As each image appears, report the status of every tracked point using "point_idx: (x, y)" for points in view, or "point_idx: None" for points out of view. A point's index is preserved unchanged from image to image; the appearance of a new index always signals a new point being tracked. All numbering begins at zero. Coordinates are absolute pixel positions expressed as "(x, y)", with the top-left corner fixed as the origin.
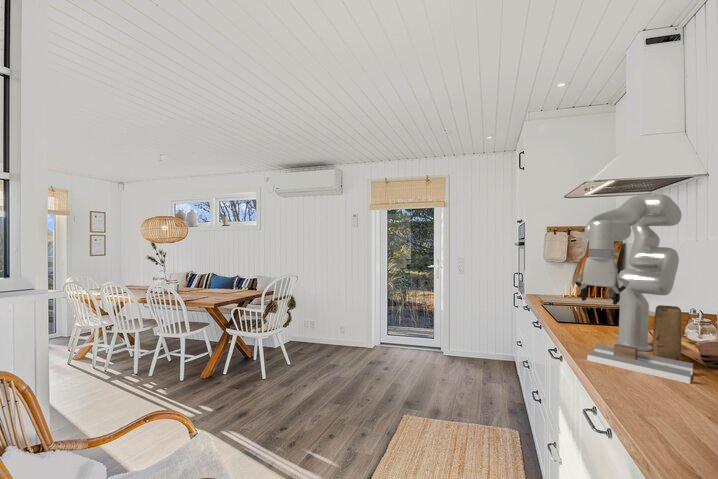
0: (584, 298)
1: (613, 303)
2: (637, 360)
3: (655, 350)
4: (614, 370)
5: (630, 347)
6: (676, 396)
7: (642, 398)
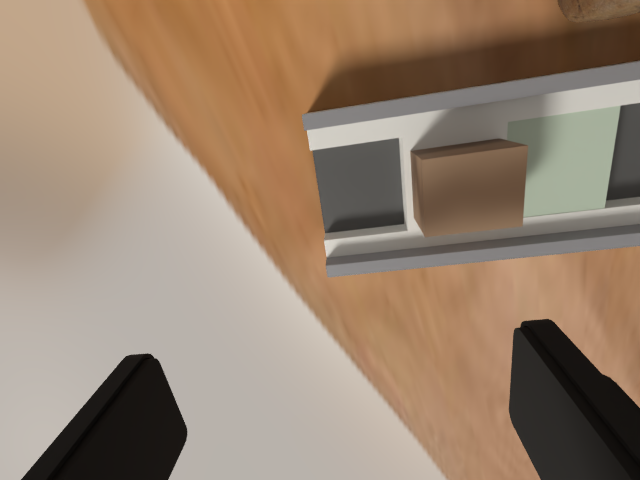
0: (171, 441)
1: (518, 423)
2: (519, 249)
3: (606, 11)
4: (435, 293)
5: (494, 184)
6: (614, 379)
7: None
